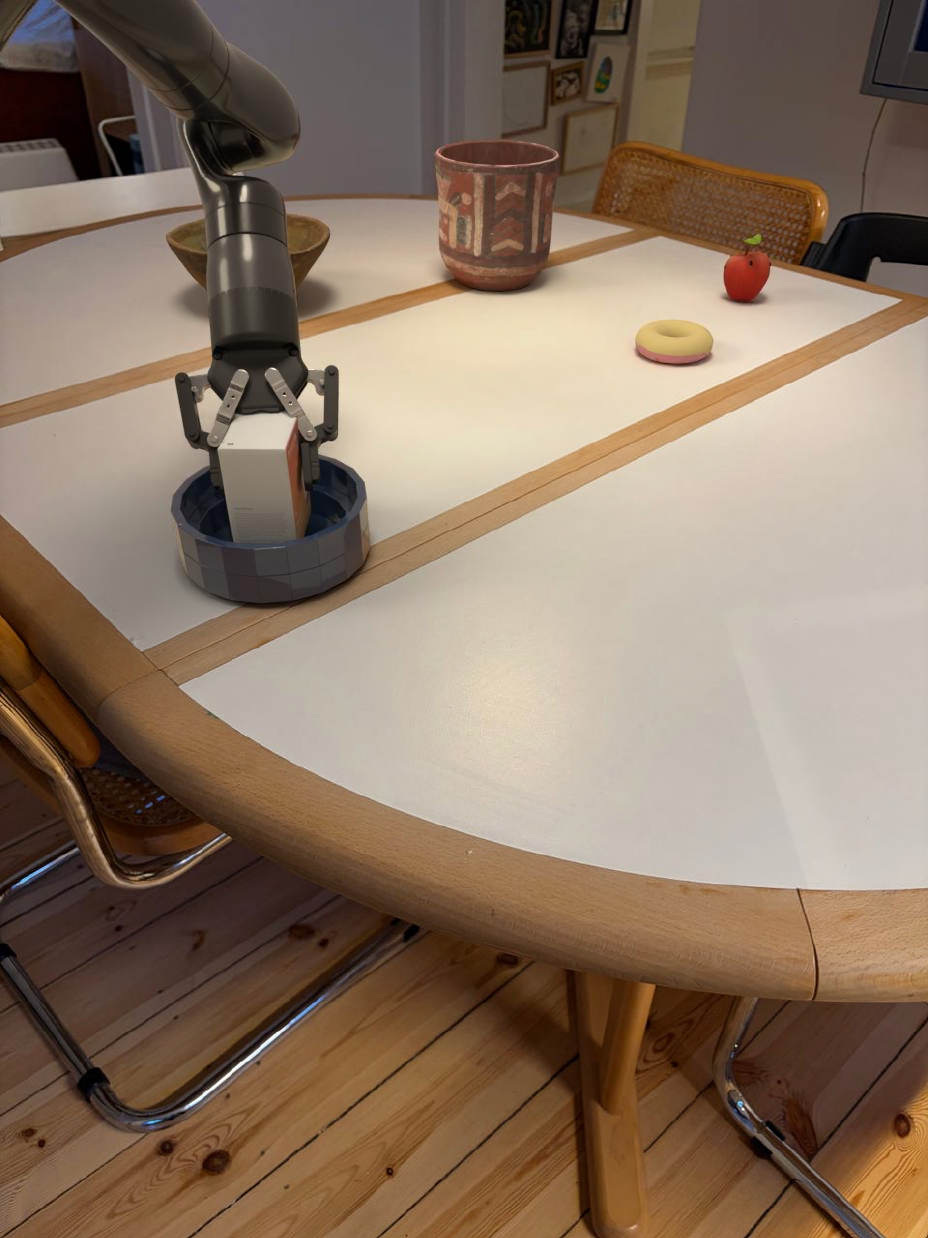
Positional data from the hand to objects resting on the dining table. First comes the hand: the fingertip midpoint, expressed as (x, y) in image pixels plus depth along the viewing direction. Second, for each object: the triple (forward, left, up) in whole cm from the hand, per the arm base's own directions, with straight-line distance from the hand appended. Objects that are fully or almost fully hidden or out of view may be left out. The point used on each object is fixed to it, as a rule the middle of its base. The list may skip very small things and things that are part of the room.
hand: (267, 491), depth 79 cm
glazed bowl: (0, +2, -7) cm, 7 cm away
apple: (+68, +60, -8) cm, 91 cm away
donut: (+51, +42, -8) cm, 66 cm away
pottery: (+33, +74, -8) cm, 81 cm away
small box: (0, +2, -6) cm, 6 cm away
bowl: (-3, +68, -8) cm, 68 cm away
